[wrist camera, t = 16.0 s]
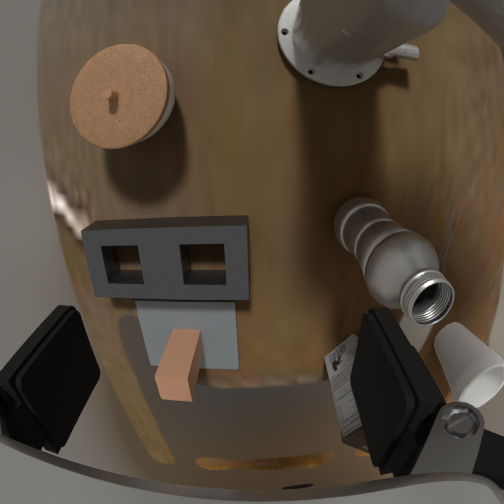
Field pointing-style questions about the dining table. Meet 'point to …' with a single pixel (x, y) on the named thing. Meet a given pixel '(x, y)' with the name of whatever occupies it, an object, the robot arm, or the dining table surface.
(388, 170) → the dining table surface
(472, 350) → the foam cup
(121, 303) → the dining table surface
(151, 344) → the mat
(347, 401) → the coffee box
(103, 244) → the socket plate
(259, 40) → the dining table surface
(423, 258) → the plastic bottle
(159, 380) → the plug
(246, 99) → the dining table surface
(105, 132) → the lidded jar
